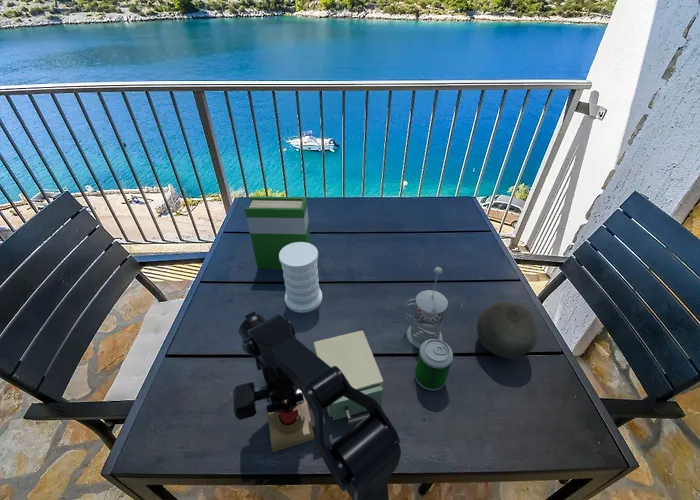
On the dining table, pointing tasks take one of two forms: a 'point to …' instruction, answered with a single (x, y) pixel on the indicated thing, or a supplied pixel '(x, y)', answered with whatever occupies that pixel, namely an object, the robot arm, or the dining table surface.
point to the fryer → (350, 359)
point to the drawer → (355, 406)
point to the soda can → (433, 364)
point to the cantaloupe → (507, 329)
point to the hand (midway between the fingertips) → (287, 410)
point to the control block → (290, 428)
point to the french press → (427, 315)
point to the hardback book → (276, 227)
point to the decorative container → (301, 276)
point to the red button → (289, 417)
